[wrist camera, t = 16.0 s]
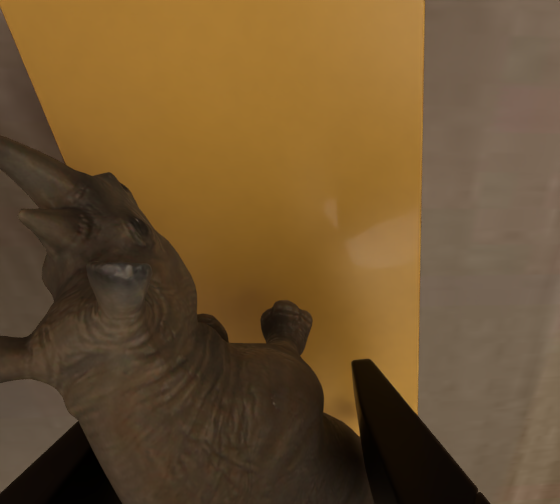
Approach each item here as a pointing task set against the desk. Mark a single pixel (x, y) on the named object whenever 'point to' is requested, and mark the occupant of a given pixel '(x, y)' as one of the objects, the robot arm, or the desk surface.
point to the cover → (258, 155)
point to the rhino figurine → (168, 361)
